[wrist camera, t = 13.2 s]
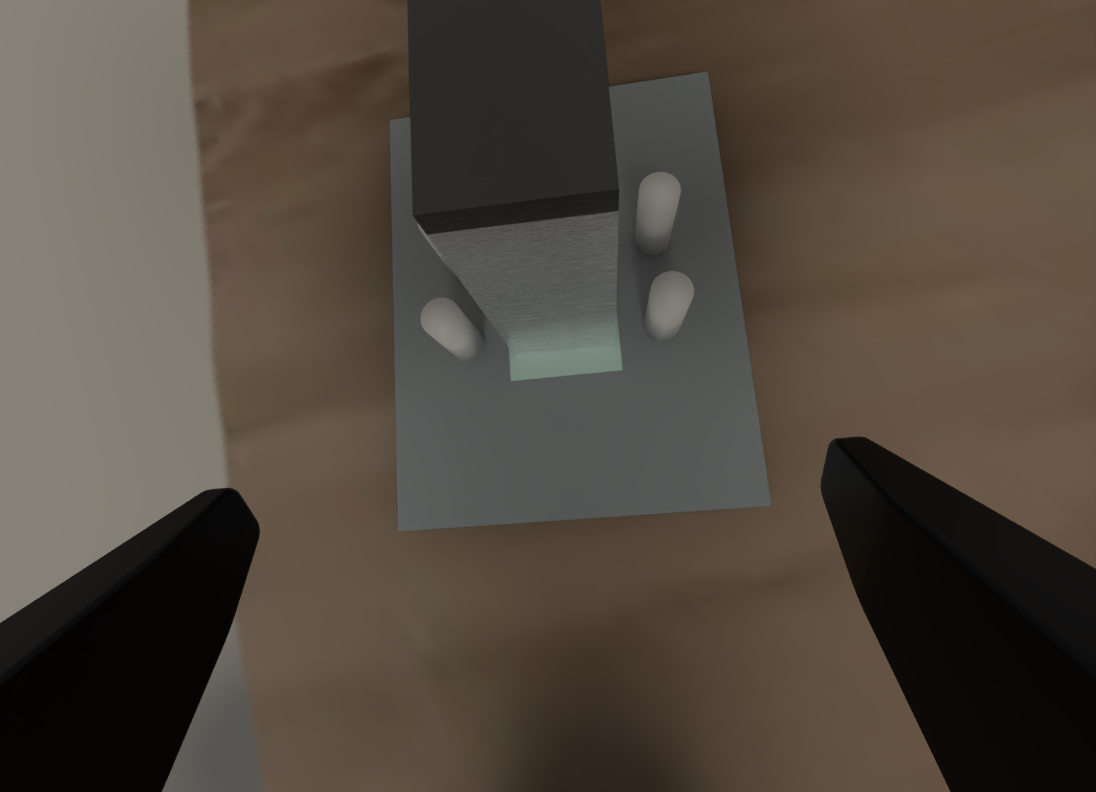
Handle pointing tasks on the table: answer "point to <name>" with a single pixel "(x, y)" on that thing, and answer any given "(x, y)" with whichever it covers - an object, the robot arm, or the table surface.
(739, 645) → the table surface
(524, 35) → the block
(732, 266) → the dock
